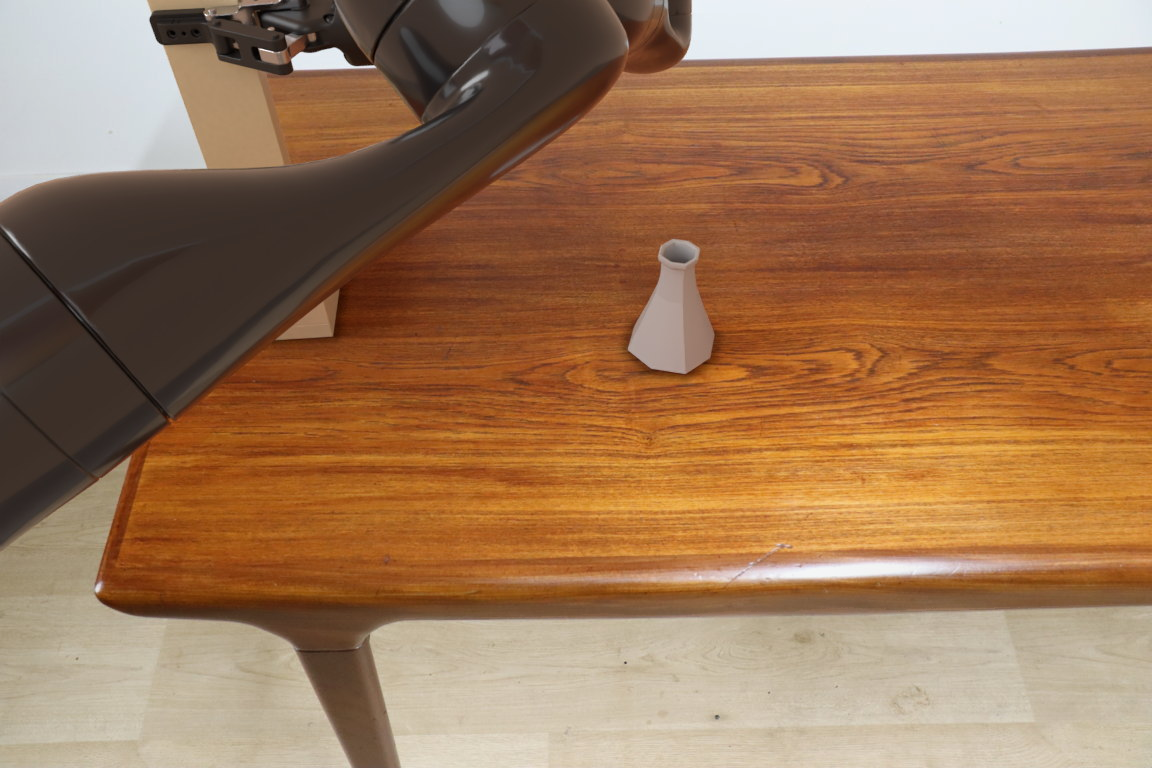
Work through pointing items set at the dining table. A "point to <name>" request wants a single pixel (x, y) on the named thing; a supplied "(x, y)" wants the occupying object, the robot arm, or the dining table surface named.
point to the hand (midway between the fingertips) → (159, 19)
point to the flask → (674, 315)
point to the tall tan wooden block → (225, 101)
